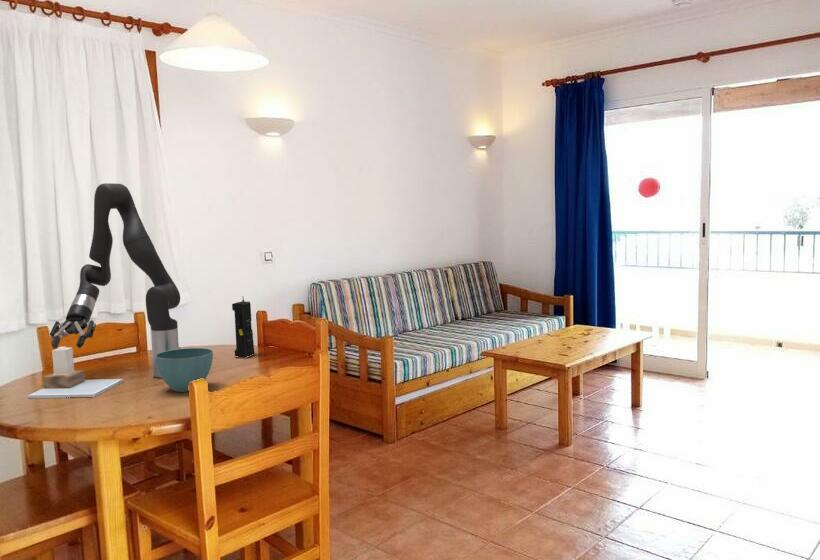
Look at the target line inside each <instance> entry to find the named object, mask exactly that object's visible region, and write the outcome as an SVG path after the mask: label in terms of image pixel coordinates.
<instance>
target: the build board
mask: <svg viewBox="0 0 820 560" xmlns="http://www.w3.org/2000/svg"><path fill="white" fill-rule="evenodd" d="M122 383H124V379H123V378H115V379H114V378H112V379H111V378H108V379H107V378H105V379H86V378H85V370H84V369H83V370H81V369H80V370H79V369H78V370H77V369H74V372H72V373H70V374H67V375H54V372H52V373H50V374H47V375H44V376H43V388H40V389H39V390H37V391H34V392H32V393H30V394H27V395H26V398H31V399H71V398H70V397H93V398H95V396H96V397H98V396H100V395H101V394H103V393H105V392H107V391H108V390H111V389H113V388H114V387H116V386H119V385H120V384H122ZM97 395H98V396H97ZM66 397H67V398H66ZM68 397H69V398H68Z"/></svg>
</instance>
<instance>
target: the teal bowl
mask: <svg viewBox="0 0 820 560" xmlns="http://www.w3.org/2000/svg"><path fill="white" fill-rule="evenodd" d="M213 356H214V350H213V349H210V348H205V347H189V348H188V347H187V348H181V349H176V350H169V351H165V352H161V353H158V354H156V355H155V358H156V364H157V367H158V370H159V372H160V374H161V376H162V380H163V381H164V382H165V384H166V385H167V387H169V388H170V389H171V390H172V391H173V392H176V393H177V392H178V393H187V392H188V393H189V391H188V385H189V382H190V381H193V380H197V379H200V378H204V379H205V380H206V379H207V377H208V376H209V374H210V371H211V367H212V364H213V358H214V357H213Z"/></svg>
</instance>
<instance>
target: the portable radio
mask: <svg viewBox="0 0 820 560" xmlns="http://www.w3.org/2000/svg"><path fill="white" fill-rule="evenodd" d="M231 307H232V308H231V310H232V311H233V312H234V326H235V347H236V348H235V350H234V357H235V356H238V357H247V356H250V355H252V354H254V353H255V345H254V334H253V333H254V331H253V329H252V308H251V301H245V299H244V297H242V301H237V302H234V303H232V304H231ZM254 355H255V354H254ZM250 357H251V356H250Z"/></svg>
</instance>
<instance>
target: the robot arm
mask: <svg viewBox="0 0 820 560" xmlns="http://www.w3.org/2000/svg"><path fill="white" fill-rule="evenodd" d="M94 191H95V192H94V196H93V197H94V198H93V199H94V200H93V201H94V202H93V204H94V205H93V231H92V239H91V244H90V249H89V254H88V255H89V256H88V257H89V259H90V260H92V261H94V262H96V263H98V264H99V265H100V266H99V265H94V264H91V263H89V264H84V265H83V266H82V267H81V269H80V271H79V287H78V289H77V292H76V294H75V296H74V298H73V299H72V302H71V303H70V306H69V309H68V311H67V314H66V318H65V321H63V322H59V321H55V322H54V324H53V326H52V328H51V330H50V332H49V336H51V338H52V342H51V347H52V348H53V350H55V349H57V348H58V346H60V342H61V340H62V339H63V338H65V337H67V336H68V335H78V334H79V336H78V339H77V341H76V344H75V346H76V347H77V348H78V349H81V348H82V347H83V346H84V345H85V341H86V339H91V338H93V337H94V333H95V329H96V327H97V324H96V323H95V321H94V320H92V319H91V317H92V315H93V313H94V310H95V306H96V303H97V301H98V297H99V296H100V295H99V294H100V289H99V288H98V286H99V287H100V286H101V287H105V286H107V285H109V283H110V282H111V279H112V273H111V271H112V270H111V266H110V265H111V261H110V259H111V252H112V248H113V241H114V240H113V239H114V238H113V234H112V230H111V227H110V224H109V218H110V217H109V216H110V213H111V210H113V209H116V210H117V213H118V214H119V215H120V217H121V220H122V224H123V231H122V244H123V247H124V248H125V251H126V252H127V254H128V256H129V259H130V261H132V262H133V263H134V264H135V266H137V267H138V268H139V269H140V270H141V271H142V272H143V273H145V274H146V275H147V277H148V278H149V279H150V281H151V282H152V284H153V286H152V287H150V288H149V289H148V290H147V291H146V294H145V308H146V309H145V310H146V316H147V317H146V319H147V322H148V324H149V326H150V338H151V340H150V341H151V352H152V353H151V355H152V368H153V369H152V370H153V371H152V372H153V377H154V378H157V379H158V378H159V379H161V378H162V376H161V374H160V372H159V370H158V367H157V364H156V358H155V355H156V354H158V353H161V352H165V351H169V350H176V349H182V347H180V345H179V344H180V343H179V330H178V329H179V328H178V327H179V326H178V320H176V319H174V318H172V317H171V316H170V310H172V309H175V308H177V307H178V306H179V304H180V303H181V294H180V291H179V289H178V287H177V285H176V284H175V282H174V281H173V278H172V277H171V276H170V274H169V272H168V271H167V269H166V268H165V266H164V264H163V261H162V260H161V258H160V256H159V254H158V252H157V250H156V247H155V246H154V243H153V241H152V240H151V237H150V236H149V234H148V232H147V230H146V228H145V226H144V224H143V222H142V219H141V217H140V215H139V212H138V210H137V207H136V204H135V200H134V199H133V196H132V194H131V191H130V190H129V188H128V186H125V185H124V184H122V183H113V182H112V183H111V182H109V183H107V182H106V183H101V184H99V185H98V186H97V187H96V189H95V190H94ZM86 328H87V329H86ZM85 329H86V332H85V331H84V330H85ZM162 379H163V378H162Z"/></svg>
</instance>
